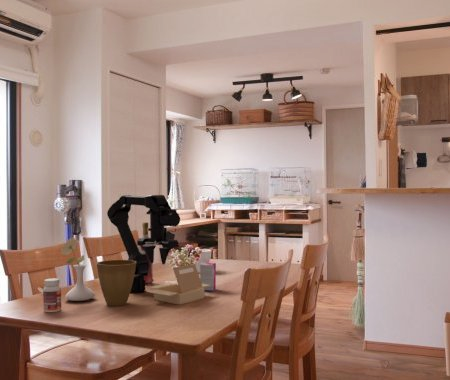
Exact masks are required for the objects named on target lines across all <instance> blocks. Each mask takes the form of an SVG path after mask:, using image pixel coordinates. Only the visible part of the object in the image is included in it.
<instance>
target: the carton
mask: <svg viewBox="0 0 450 380" xmlns="http://www.w3.org/2000/svg"><path fill="white" fill-rule="evenodd" d="M207 286H211V285H208V284H202V287H201V288H200V287H198V288H194V289H190V290H186V291H182V292H181V291H180V288H179V285H178V283H173V282H169V281H168V282H164V283H160V284H154V285H152V286H147V287H146V288H147V289H151V290H146V293H150V294H153V295H154V296H153V301H158V302H162V303H168V304H172V305H173V304H175V305H180V306H181V305H186V304H189V303H192V302H195V301H200V300H202V299H203V300H204V299H205V298H206V297H205V291H204V288H203V287H207Z"/></svg>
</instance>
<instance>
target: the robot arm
mask: <svg viewBox="0 0 450 380" xmlns="http://www.w3.org/2000/svg"><path fill="white" fill-rule="evenodd" d="M132 206H143V207H145V208H146V209H148V211H146V212H145V214H146V215H149V224H150V225H149V227H150V228H149V227H148V232H149V233H150V235H149V238H147V237H146V238H142V237H140V238H137V242H136V239H135V237H134V235H133V233H132V230H131V228H130V225H129V218H130V217H129V212H130V211H131V208H132ZM106 214H107V217H108V219H109V221H110V223H111V224H112V225H113V226H115V227H116V229H117V232H118V233H119V237H120V238H121V241H122V244H123V246H124V248H125V252H126V254H127V255H128V256H127V257H128V258H127V260H132V261H136V269H135V275H134V280H133V284H132V288H131V291H130V294H137V293H145V291H146V284H145V279H144V276H147V275H148V271H149V267H150V265H149V260H150V262H151V263H153V264H154V260H155V249H156V247H157V246H161V247H159V248H158V249H159V250H158V251H159V255H160V260H161V264H162V265H165V264H166V262H167V260H168V256H169V253H170V252H171V250H172V249H174V248H177V247H179V241H178V240H177V239H175V237H176V234H175V233H172V232H169V231H168V228H167V227H178V226H179V224H180V223H181V217H180V215H179V213H178V212H177V209H175V208H174V209H172V207H171V206H170V204H169V202H168V200H167V198H166V196H165V195H164V194H150V195H146V196H140V195H138V196H137V195H130V194H128V195H127V194H126V195H125V194H124V195H121V196H120V197H119V198H118V199H117V200H116V201H114V203H112V204H111V205H110V207H109V208H108V209H107V212H106ZM153 244H154V245H153ZM138 245H141V247H142V248H143V249H144V251H145V252H146V254H147V255H146V254H141V253H140V252H139V249H138ZM142 245H143V246H142ZM147 256H148V258H149V260H148V258H147Z"/></svg>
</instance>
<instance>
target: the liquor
mask: <svg viewBox="0 0 450 380" xmlns="http://www.w3.org/2000/svg"><path fill="white" fill-rule="evenodd" d="M148 228H149V222H145V221H144V222H142V236H141V238H146V237H147V238H150V235H149V231H148ZM153 245H154V244H153ZM142 246H143V245H142ZM137 247H138V249H139V252H140V253H141V254H146V252H145V251H144V249H143V248H142V247H141V245H137ZM146 255H147V254H146ZM147 258H148V256H147ZM148 260H149V258H148ZM149 265H150V267H149V271H148V275H147V276H144V279H145V285H151V284H152V283H153V282H154V275H153V274H154V270H153V269H154V268H153V267H154V262H153V263H151V262H150V260H149Z"/></svg>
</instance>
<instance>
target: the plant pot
mask: <svg viewBox="0 0 450 380" xmlns="http://www.w3.org/2000/svg"><path fill="white" fill-rule="evenodd" d="M96 269H97V274H98V281H99V284H100V285H99V286H100V288H101V291H102V295H103V298H104V301H105V303H106V305H107V306H112V307H116V306H117V307H121V306H124V305H126V304H127V302H128V300H129V298H130V294H131V293H130V291H131V288H132V284H133V280H134V275H135V269H136V261H132V260H128V259H110V260H101V261H97V262H96Z"/></svg>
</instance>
